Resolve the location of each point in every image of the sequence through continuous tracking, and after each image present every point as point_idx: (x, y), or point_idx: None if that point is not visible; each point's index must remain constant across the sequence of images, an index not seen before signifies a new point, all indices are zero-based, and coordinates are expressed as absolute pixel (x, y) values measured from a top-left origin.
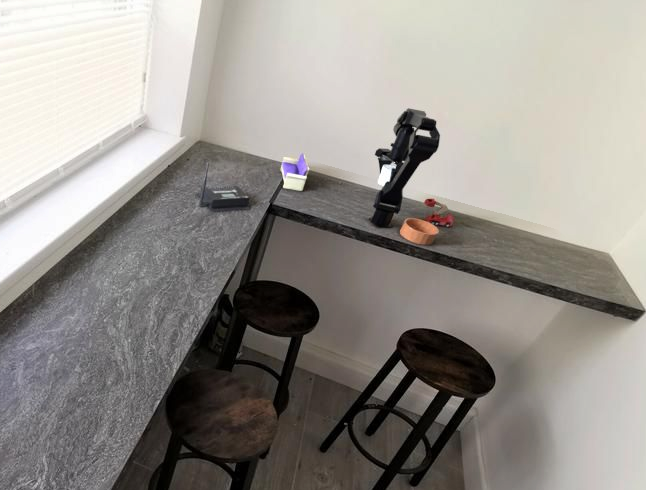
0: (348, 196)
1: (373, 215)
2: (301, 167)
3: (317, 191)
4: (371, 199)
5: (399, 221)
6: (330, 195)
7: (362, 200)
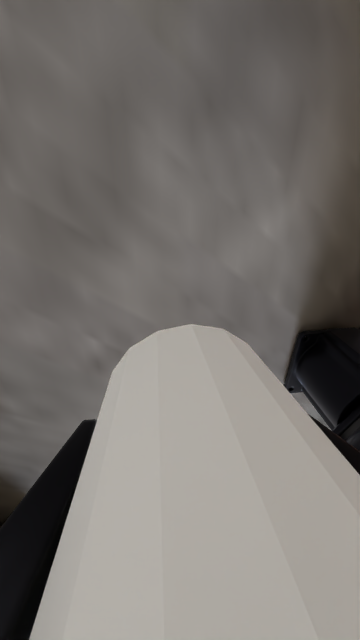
0: (50, 375)
1: (317, 409)
2: None
3: (31, 476)
4: (59, 251)
5: (342, 238)
6: (61, 445)
7: (88, 322)
